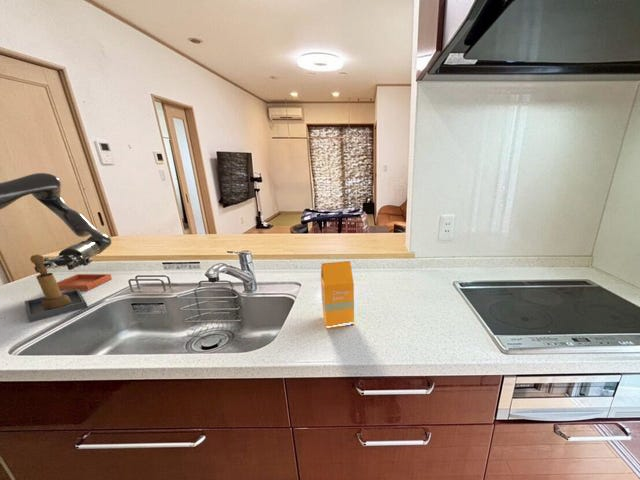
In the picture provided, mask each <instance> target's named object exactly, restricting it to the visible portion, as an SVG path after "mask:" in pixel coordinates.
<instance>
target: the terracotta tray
mask: <svg viewBox="0 0 640 480" xmlns="http://www.w3.org/2000/svg"><path fill="white" fill-rule="evenodd" d="M112 279H113V278H112V274H110V273H76V274H73V275H72V276H69V277H66V278H64V279H63V280H62V279H61V280H60V281H56V282H57V285H58V287H59V289H60V291H72V290H76V289H79V291H90V290H92V289H95V288H96V287H98V286H100V285H102V284H104V283H106V282H108V281H111V280H112Z"/></svg>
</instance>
